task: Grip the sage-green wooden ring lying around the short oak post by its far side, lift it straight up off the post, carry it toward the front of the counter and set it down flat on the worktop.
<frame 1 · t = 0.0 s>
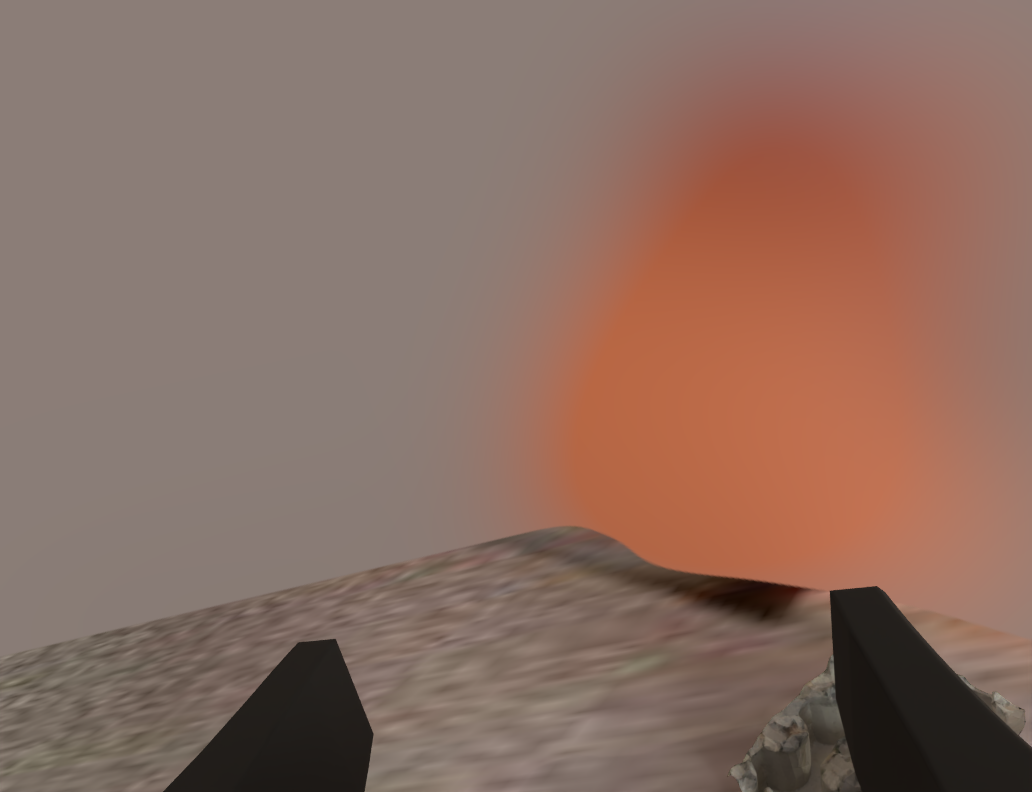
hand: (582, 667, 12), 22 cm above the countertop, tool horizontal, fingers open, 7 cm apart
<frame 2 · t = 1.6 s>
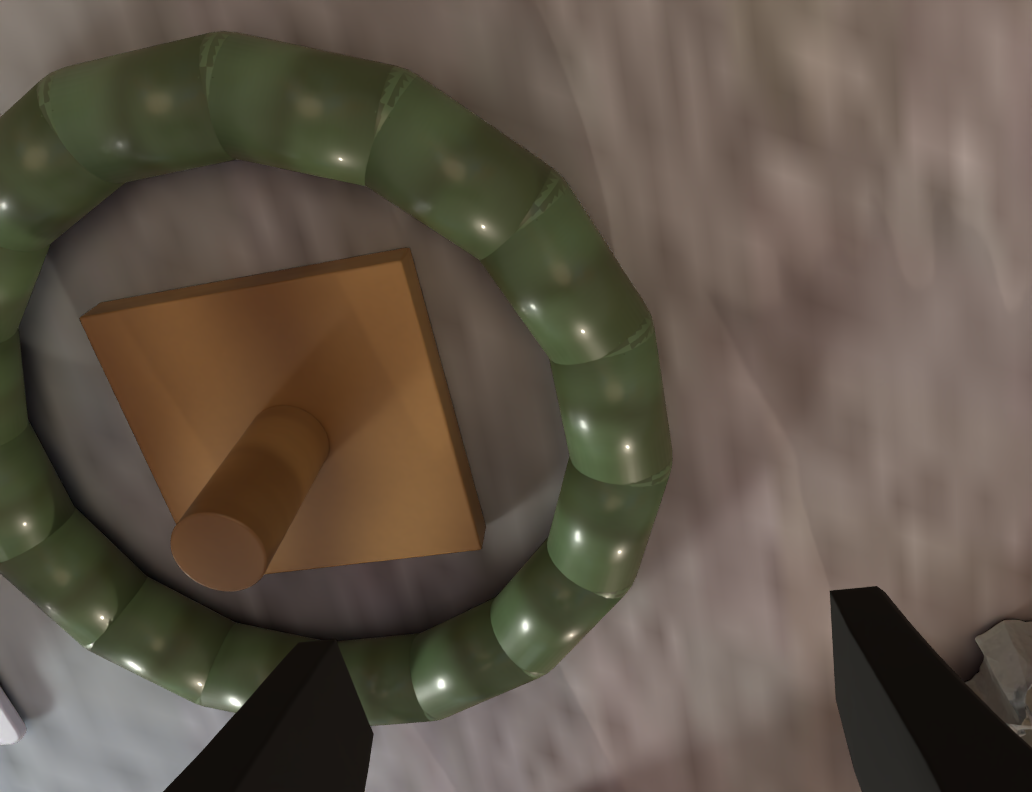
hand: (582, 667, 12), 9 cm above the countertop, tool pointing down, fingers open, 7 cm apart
ring: (287, 444, 21), point 1 cm above the countertop
ring stand: (302, 420, 22), on the countertop
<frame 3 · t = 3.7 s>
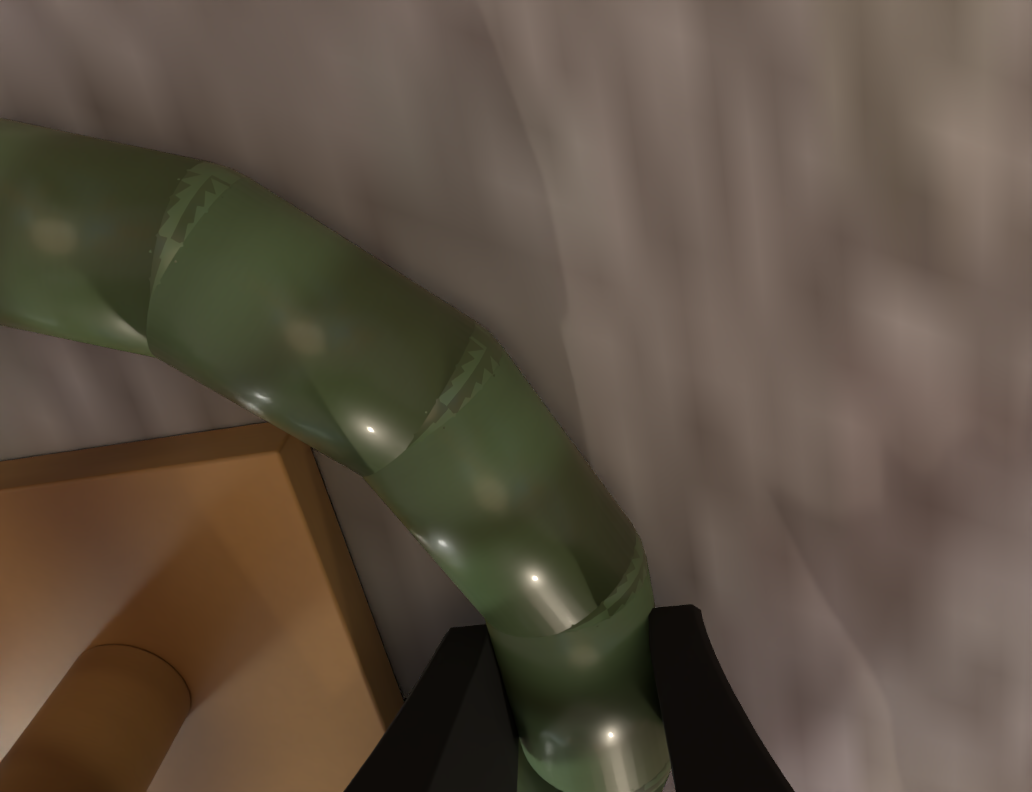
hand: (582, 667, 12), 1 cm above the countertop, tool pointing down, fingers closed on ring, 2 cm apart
ring: (98, 700, 14), point 1 cm above the countertop, touching gripper
ring stand: (160, 644, 15), on the countertop
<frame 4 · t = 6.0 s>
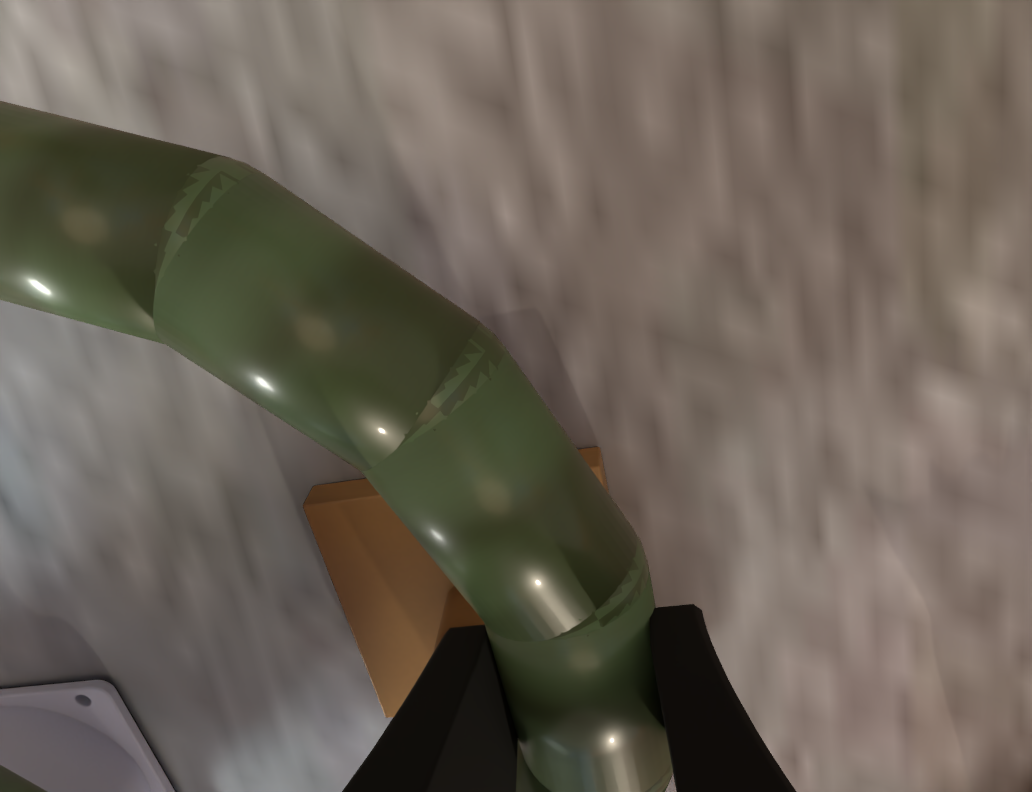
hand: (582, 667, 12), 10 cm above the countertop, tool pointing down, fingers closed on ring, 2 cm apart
ring: (127, 661, 15), point 9 cm above the countertop, tilted 7°, touching gripper
ring stand: (485, 581, 25), on the countertop
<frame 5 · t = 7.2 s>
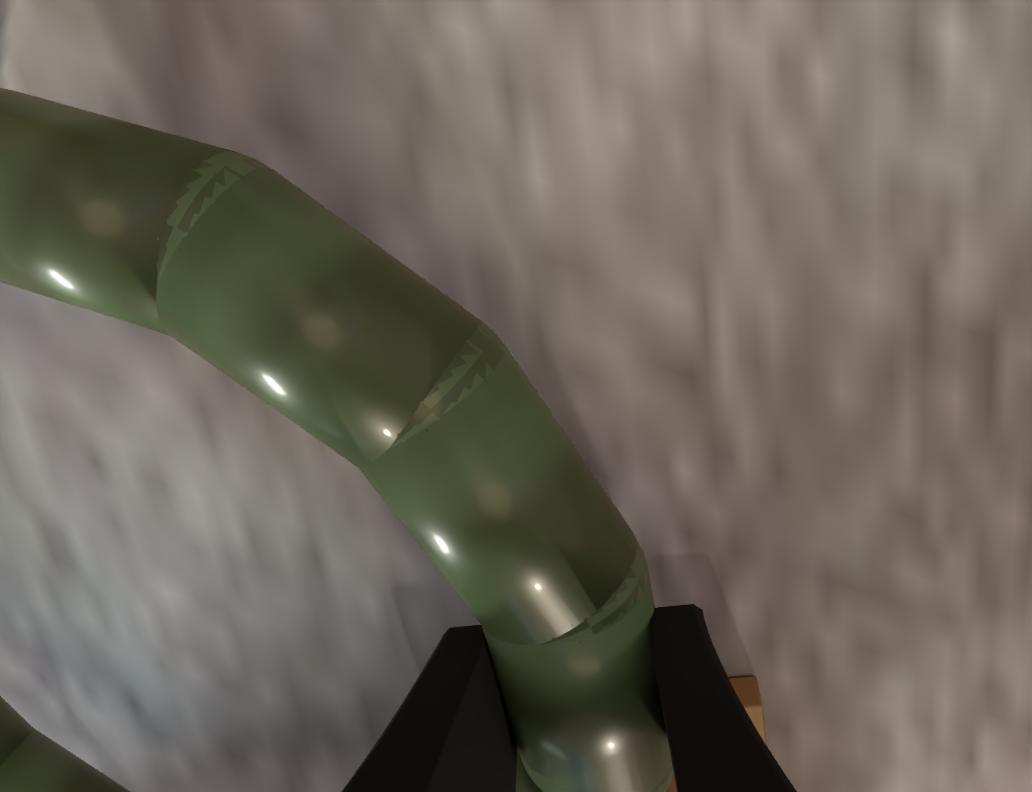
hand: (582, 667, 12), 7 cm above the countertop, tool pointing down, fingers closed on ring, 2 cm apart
ring: (145, 639, 15), point 6 cm above the countertop, tilted 11°, touching gripper
ring stand: (623, 789, 24), on the countertop
when the fingers open (3 cm above the countertop, at t = 8.4 s): ring stays where it is, resting on ring stand.
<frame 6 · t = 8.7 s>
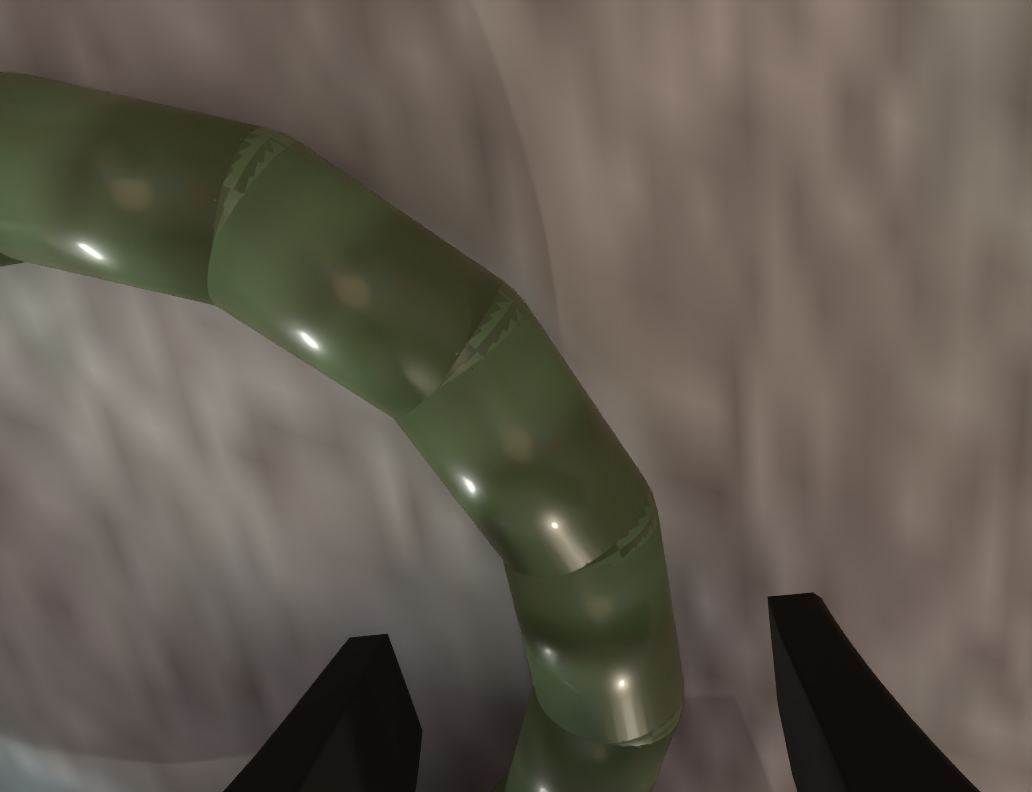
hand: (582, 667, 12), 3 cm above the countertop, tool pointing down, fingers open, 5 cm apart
ring: (138, 646, 15), point 2 cm above the countertop, touching ring stand
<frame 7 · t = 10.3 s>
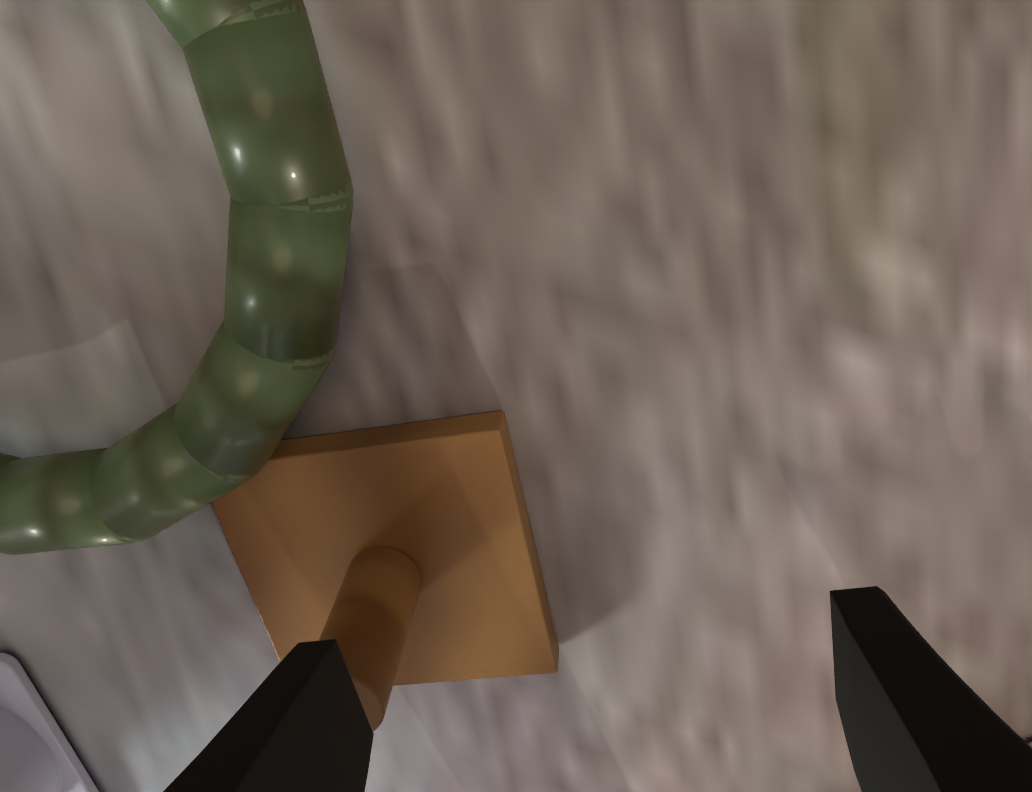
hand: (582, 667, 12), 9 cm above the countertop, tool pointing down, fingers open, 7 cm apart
ring stand: (393, 552, 24), on the countertop
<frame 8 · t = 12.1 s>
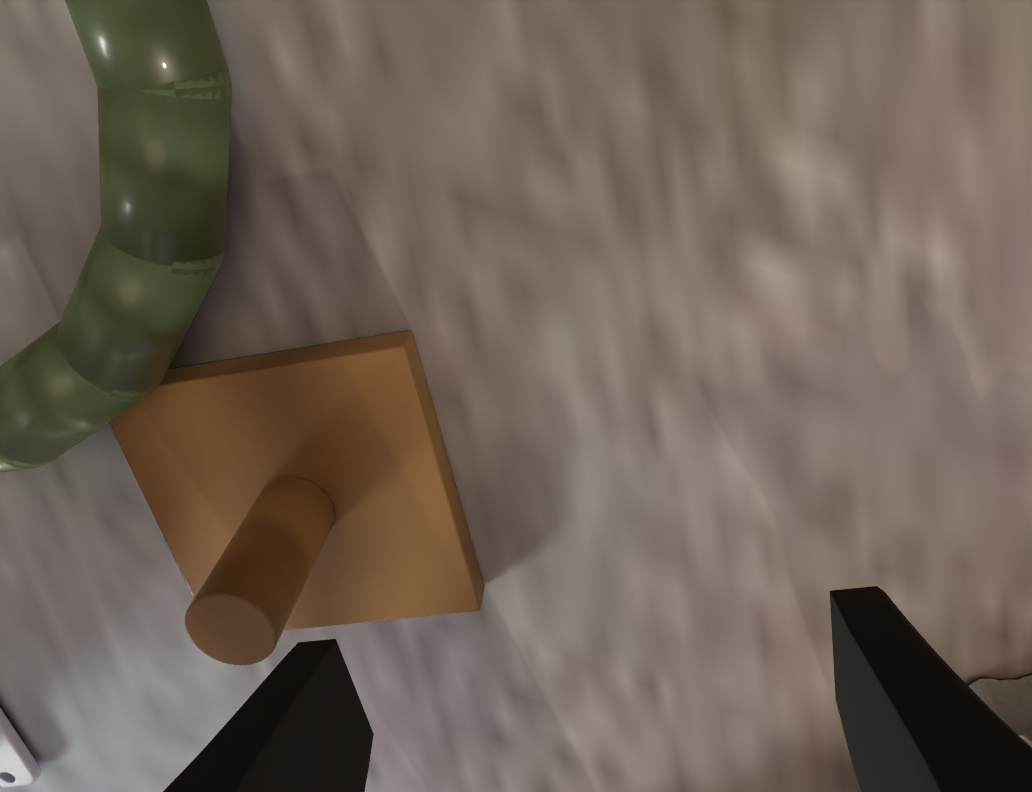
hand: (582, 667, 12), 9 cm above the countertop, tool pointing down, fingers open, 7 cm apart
ring stand: (308, 487, 23), on the countertop
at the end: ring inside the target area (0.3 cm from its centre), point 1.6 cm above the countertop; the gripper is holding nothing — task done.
